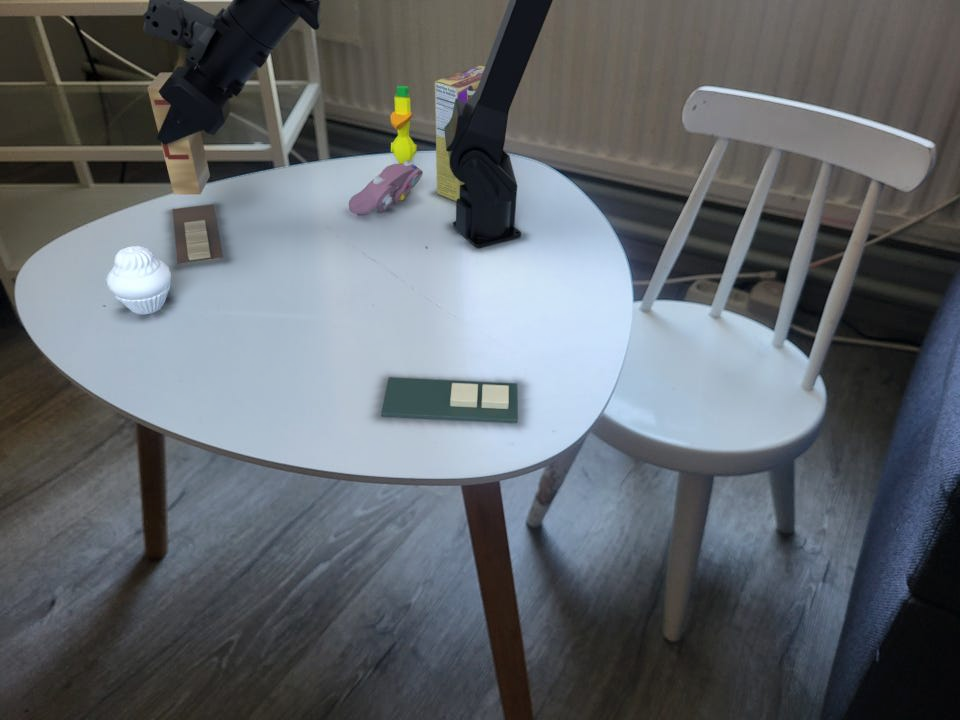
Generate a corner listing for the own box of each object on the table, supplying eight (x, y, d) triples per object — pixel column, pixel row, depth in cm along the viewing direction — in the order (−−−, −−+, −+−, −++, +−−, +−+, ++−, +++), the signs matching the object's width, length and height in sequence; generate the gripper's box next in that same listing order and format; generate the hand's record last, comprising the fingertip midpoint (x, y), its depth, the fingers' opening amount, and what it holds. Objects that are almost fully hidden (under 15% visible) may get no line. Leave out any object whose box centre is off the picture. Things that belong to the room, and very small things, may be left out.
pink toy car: (369, 232, 95) (386, 193, 90) (343, 209, 96) (359, 169, 90) (414, 203, 102) (433, 166, 97) (390, 182, 102) (407, 143, 97)
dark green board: (381, 416, 66) (380, 406, 65) (388, 380, 70) (388, 370, 69) (516, 423, 66) (517, 413, 65) (516, 386, 70) (517, 376, 69)
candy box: (476, 173, 107) (480, 63, 97) (499, 182, 104) (506, 71, 95) (434, 193, 101) (433, 79, 92) (457, 203, 99) (459, 87, 90)
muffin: (149, 284, 81) (133, 227, 77) (191, 300, 79) (176, 242, 75) (102, 312, 77) (82, 252, 73) (145, 330, 75) (127, 270, 70)
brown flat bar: (173, 211, 95) (170, 203, 94) (214, 206, 96) (212, 198, 95) (178, 266, 84) (175, 257, 84) (223, 260, 86) (222, 251, 85)
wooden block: (210, 175, 89) (188, 72, 81) (200, 194, 85) (176, 88, 77) (184, 176, 88) (159, 72, 81) (173, 195, 84) (146, 88, 77)
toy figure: (410, 185, 103) (408, 98, 96) (385, 182, 103) (380, 95, 96) (420, 165, 108) (418, 81, 101) (396, 163, 108) (393, 79, 101)
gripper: (204, -54, 80) (125, 52, 86) (157, -15, 65) (67, 110, 71) (288, 25, 85) (209, 120, 91) (263, 77, 71) (170, 186, 77)
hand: (167, 131), depth 82 cm, fingers closed on wooden block, 5 cm apart
